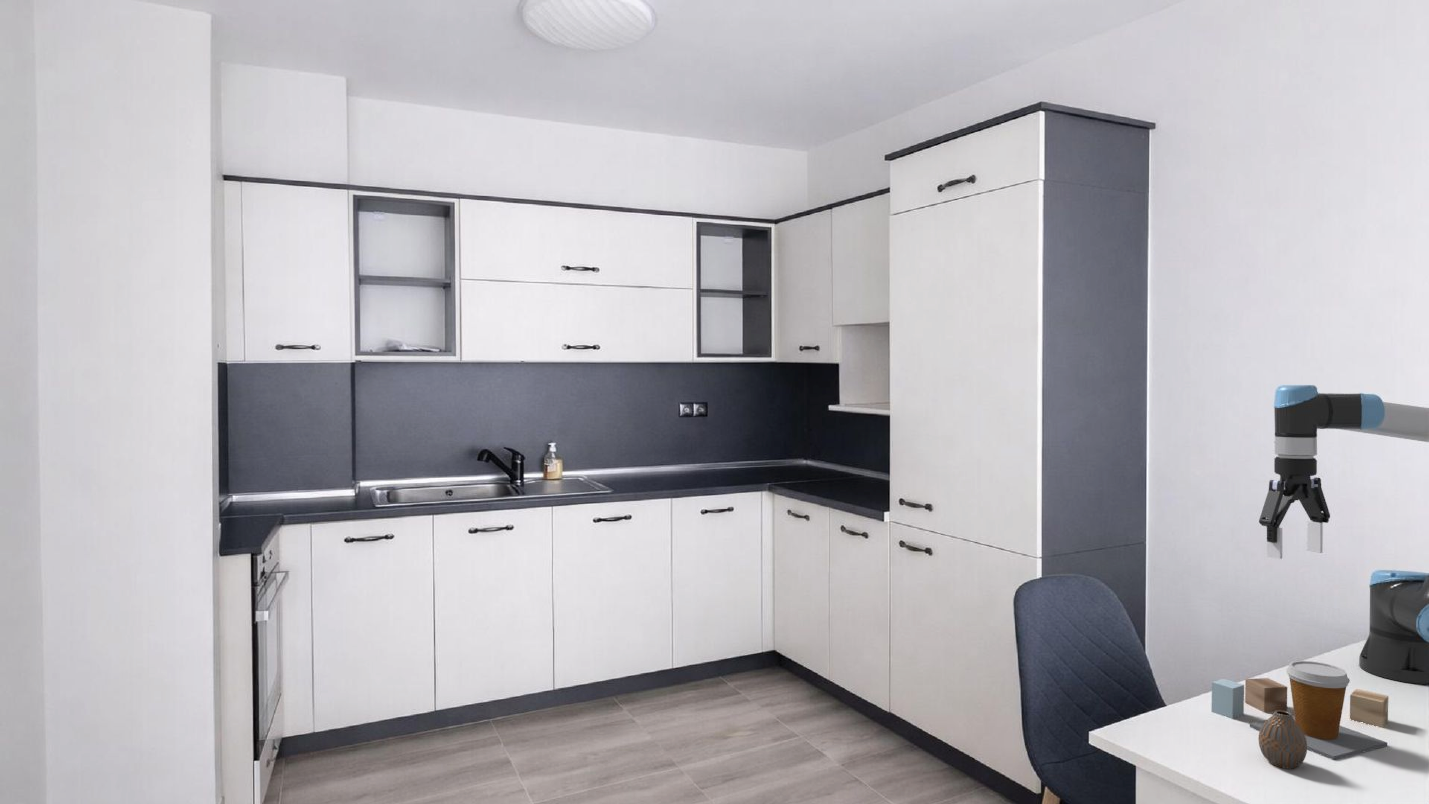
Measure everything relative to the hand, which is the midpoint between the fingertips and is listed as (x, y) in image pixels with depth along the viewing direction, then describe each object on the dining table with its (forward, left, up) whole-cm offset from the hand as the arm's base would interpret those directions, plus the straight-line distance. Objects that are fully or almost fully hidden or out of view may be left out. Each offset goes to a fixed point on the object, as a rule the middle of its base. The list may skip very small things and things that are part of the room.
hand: (1295, 554), depth 180 cm
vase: (+40, +24, -29) cm, 54 cm away
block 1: (+28, +7, -25) cm, 38 cm away
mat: (+23, +19, -28) cm, 41 cm away
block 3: (+6, +18, -28) cm, 34 cm away
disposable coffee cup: (+23, +19, -28) cm, 41 cm away
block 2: (+18, +6, -29) cm, 34 cm away
